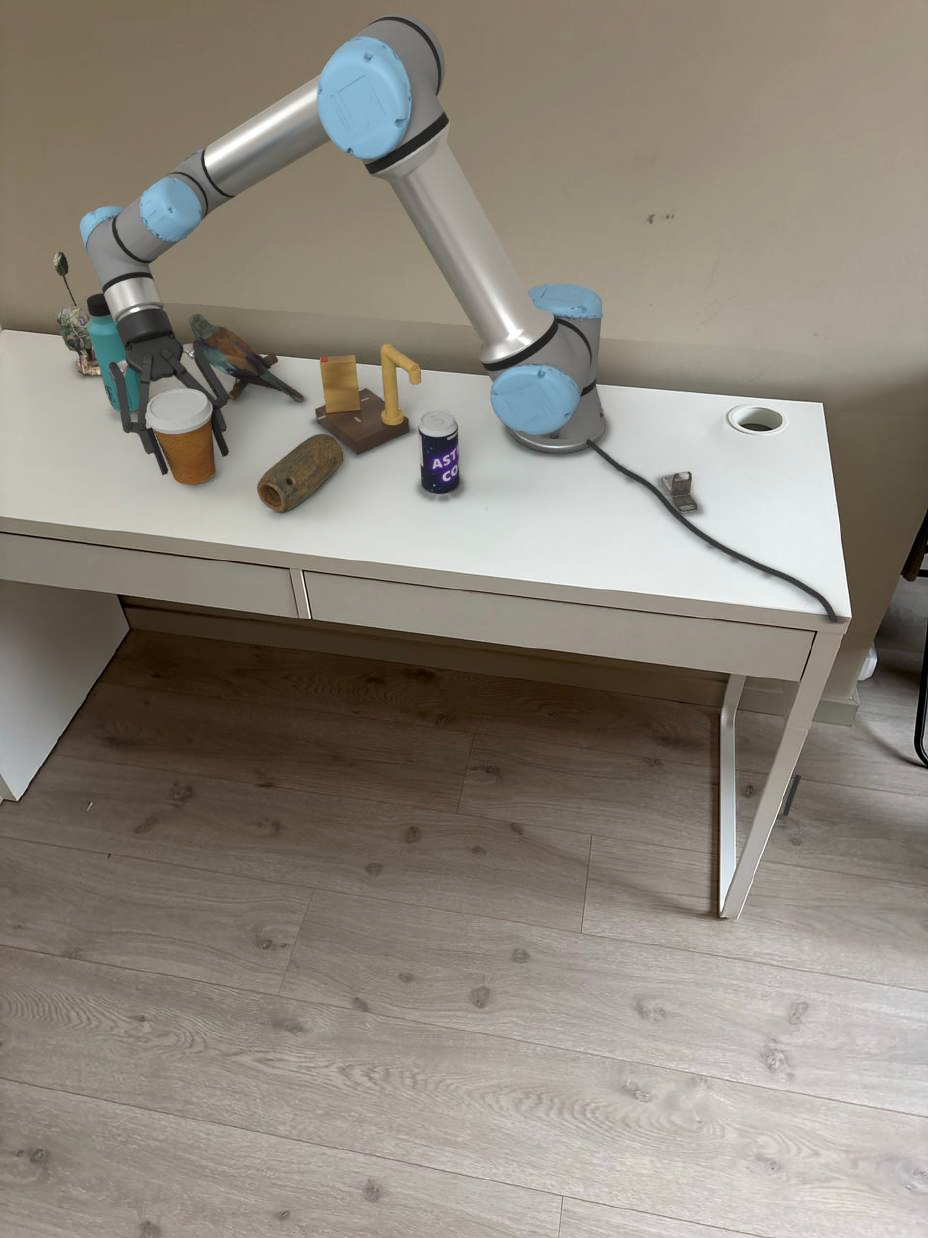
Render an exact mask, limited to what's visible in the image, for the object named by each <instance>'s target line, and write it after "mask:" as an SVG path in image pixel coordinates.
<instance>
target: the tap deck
mask: <svg viewBox="0 0 928 1238" xmlns="http://www.w3.org/2000/svg"><path fill="white" fill-rule="evenodd" d="M359 398H360V408H361V410H356V411H344V412H333V413H326V406H325V404H323V405H321V406H319V407H316V408H315V417H316V422H317V424H319V425H320V426H322V428H324V429H325V430H326V431H328V433H330V434H331V435H332V436H334V437H335V438H337V439H338V441H340V442H341V443H342V444H344V445H345V446H346V447H347V448H348V449H350V450H351V451H352V452H354V453H355V454H356V455H360V454H363V453H365V452H368V451H369V450H372V449H375V448H376V447H378V446H380V445H383V444H385V443H388V442H391V441H392V440H394V439H397V438H399V437H401V436H404V435H406V434H408V433H410V420H409V418H408V417H407V416H405V415H404V420H403V422H402V423H400V424H397V425H387V424H385V423H383V422H382V418H381V413H382V412H383V411H384V410H385V401H384V399H382V398H381V397H380V396H378V395H377V394H376V393H374V392H373V391H372V390H371V389H369V388H367V387H365V388H362V389H359Z"/></svg>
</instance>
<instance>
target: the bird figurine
mask: <svg viewBox="0 0 928 1238" xmlns="http://www.w3.org/2000/svg"><path fill="white" fill-rule="evenodd" d="M188 325H189V326H190V329H191V332H192V334H193V335H194V341H195V340H199V341H200V342H201V345H202V349H203V354H204V356H205V358H206V359H207V361H208V363H209V364H210V366H211V367H213V368H215V369H216V370H218V371H219V372H222V373H223V374H225V375H229V376H231V377H233V378H235V379H234V383H233V385H232V388H231V390H230V391H229V392H228V395H229V399H231V400H232V401H235V400H236V399H237V398H238V397H239V396H240V394H241V393H242V392H243V391H244V390H245V389H246V388H247V386H248V385H249V384H251V385H256V386H259V387H263V388H266V389H272V390H275V391H278V392H282V393H284V394H285V395H287V396H289V398H290V399H292V400H293V401H295V402H298V403H299V402H301V401H302V400H303V399H304V397H305V396H304V395H303V394H302V393H300V392H299V391H298V390H297V389H295V388H294V387H291V386H290V385H289V384H287V383H286V382H285V381H284V380H282V379H280V378H279V377H278V376H277V375H275V374H274V373H273V372H271V371H270V369H272V366H274V365H275V364H277V363H278V362H279V359H278V356H277V355H276V354H275V353H274V352H270V353H269V354H267V355H266V356H264V357H263V356H261V354H260V353H259V352H257V351H256V350H255V349H254V348H253V346H251V345H250V344H248V343H247V342H246V341H245V340H243V339H242V338H241V337H239V336H238V335H237V334H235V332H233V331H232V330H230V329H228V328H227V327H225V326H219V325H213V324H211V323H210V322H209V321H208V320H207V319H206V317H204V315H203V314H201V313H193V314H191V316H189V319H188ZM238 380H239V381H238Z"/></svg>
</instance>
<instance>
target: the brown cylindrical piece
mask: <svg viewBox="0 0 928 1238" xmlns="http://www.w3.org/2000/svg"><path fill="white" fill-rule="evenodd" d="M344 457H345V454H344V451H343V448H342V447H341V445H340V443H338V441H337V440H336V439H335V438H334V437H333V436H331V435H329V434H326V433H318V434H313V435H312V436H309V437H308V438H306V439H305V440H304V441H301V443H300V444H298V445H297V446H296V447H294V448H293V449H292V450H291V451H289V452H288V453H287V454H286V455H285V456H283V457H282V458H281V459H280V460H278V461H277V462H276V463H275V464H273V465H272V467H270V468H269V469H268V470H267V471H266V472H265V473H264V474H263V475H262V477H260V479H259V480H258V483H257V484H256V490H257V491H256V492H257V494H258V497H259V499H260V500H261V503H263V504H264V505H265V506H266V507H267V508H269V509H271V510H273V511H275V512H277V513H279V514H281V513H285V512H288V511H289V510H291V509H293V508H294V507H296V506H297V505H299V504H300V503H302V502H303V501H305V500H306V499H307V498H308V497H309V496H310V495H311V494H313V493H314V492H315V491H317V489H318V488H319V487H321V486H322V485H323V484H324V483H325V482H326V481H327V480H328V479H329V478H330V477H331V476H332V475H333V474H334V473H335V472H336V471H337V470H338V468H339V467H340V466H341V464H342V463H343V461H344Z"/></svg>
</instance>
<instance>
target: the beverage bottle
mask: <svg viewBox="0 0 928 1238" xmlns="http://www.w3.org/2000/svg"><path fill="white" fill-rule="evenodd" d="M86 305H87V311H88V314H89V315H90V316H92V318H90V322H89V323H88V325H87V331H88V333H89V336H90V339H91V342H92V345H93V349H94V352H95V356H96V359H97V362H98V365H99V369H100V370H99V371H100V372H101V374H100V376H101V380H102V381H103V382H102V383H103V387H104V390H105V393H106V395H107V399H108V402H109V404H110V405H111V407H112V408H113V409H114V410H116V411H119V412H120V407H119V401H118V395H117V389H116V383H115V381H114V380H113V378H112V376H111V374H110V372H109V364H110V363H111V362H115V363H117V362H120V361H122V360H124V359H125V356H126V353H125V350H124V347H123V344H122V342H121V339H120V337H119V334H118V331H117V329H116V326H117V323H116V322H114V320H113V318H112V315H111V312H110V310H109V307H108V304H107V302H106V299H105V296H104V294H103V292H100V293H95V294H92V295H90V296H89V297H87V299H86ZM141 377H142V376H140V375H139V374H137V373H136V372H135V371H133V370H132V369H130V368H129V367H128V368H127V369H126V376H125V377H124V380H125V386H126V392H127V398H128V404H129V411H130V412H133V411H136V410H138V409H139V399H140V388H141Z"/></svg>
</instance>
